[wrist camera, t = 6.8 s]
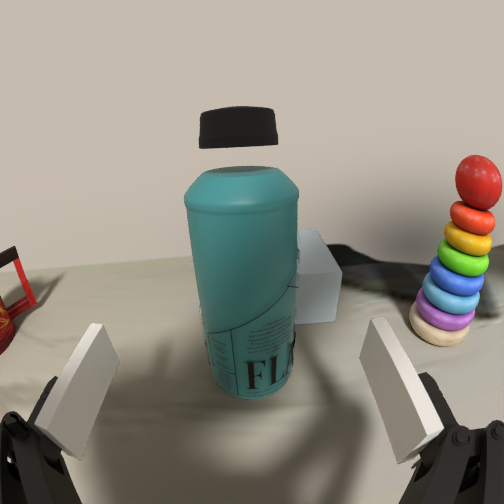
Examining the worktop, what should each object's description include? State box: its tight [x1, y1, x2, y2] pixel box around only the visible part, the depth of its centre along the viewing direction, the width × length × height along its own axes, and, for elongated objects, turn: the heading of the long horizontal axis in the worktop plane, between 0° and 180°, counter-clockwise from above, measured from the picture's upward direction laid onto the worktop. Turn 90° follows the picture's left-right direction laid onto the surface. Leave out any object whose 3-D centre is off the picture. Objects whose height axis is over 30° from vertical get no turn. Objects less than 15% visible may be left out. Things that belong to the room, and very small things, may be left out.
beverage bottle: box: [184, 106, 300, 399], centre depth 17 cm, size 6×7×20 cm
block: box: [294, 229, 342, 325], centre depth 32 cm, size 12×12×6 cm
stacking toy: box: [409, 155, 502, 347], centre depth 20 cm, size 8×8×19 cm
